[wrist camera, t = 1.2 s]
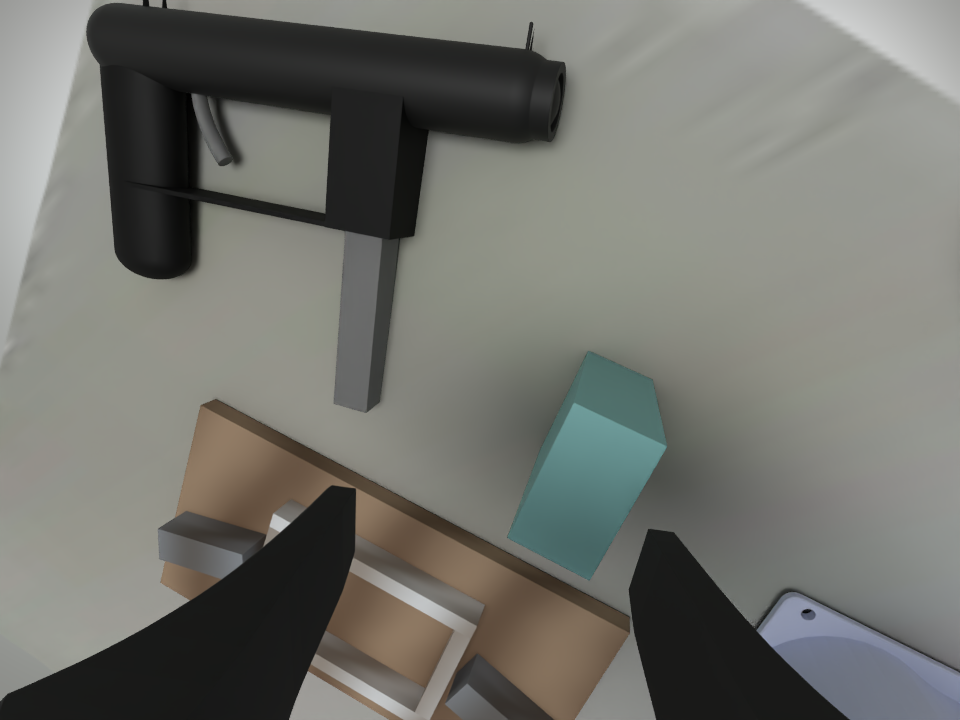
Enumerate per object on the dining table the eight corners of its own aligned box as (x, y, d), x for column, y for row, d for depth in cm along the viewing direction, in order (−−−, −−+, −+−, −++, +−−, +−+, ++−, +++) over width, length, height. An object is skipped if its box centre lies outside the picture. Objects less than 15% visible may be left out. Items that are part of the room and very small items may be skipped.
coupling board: (629, 617, 23) (630, 665, 21) (526, 780, 27) (516, 838, 25) (215, 399, 27) (171, 417, 24) (174, 571, 30) (132, 603, 28)
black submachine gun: (486, 456, 21) (570, 2, 16) (98, 345, 25) (60, -46, 20) (504, 424, 24) (580, 34, 19) (155, 329, 28) (136, -13, 23)
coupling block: (652, 379, 21) (667, 446, 14) (598, 479, 22) (589, 581, 16) (588, 350, 21) (573, 402, 15) (539, 450, 23) (507, 537, 16)
